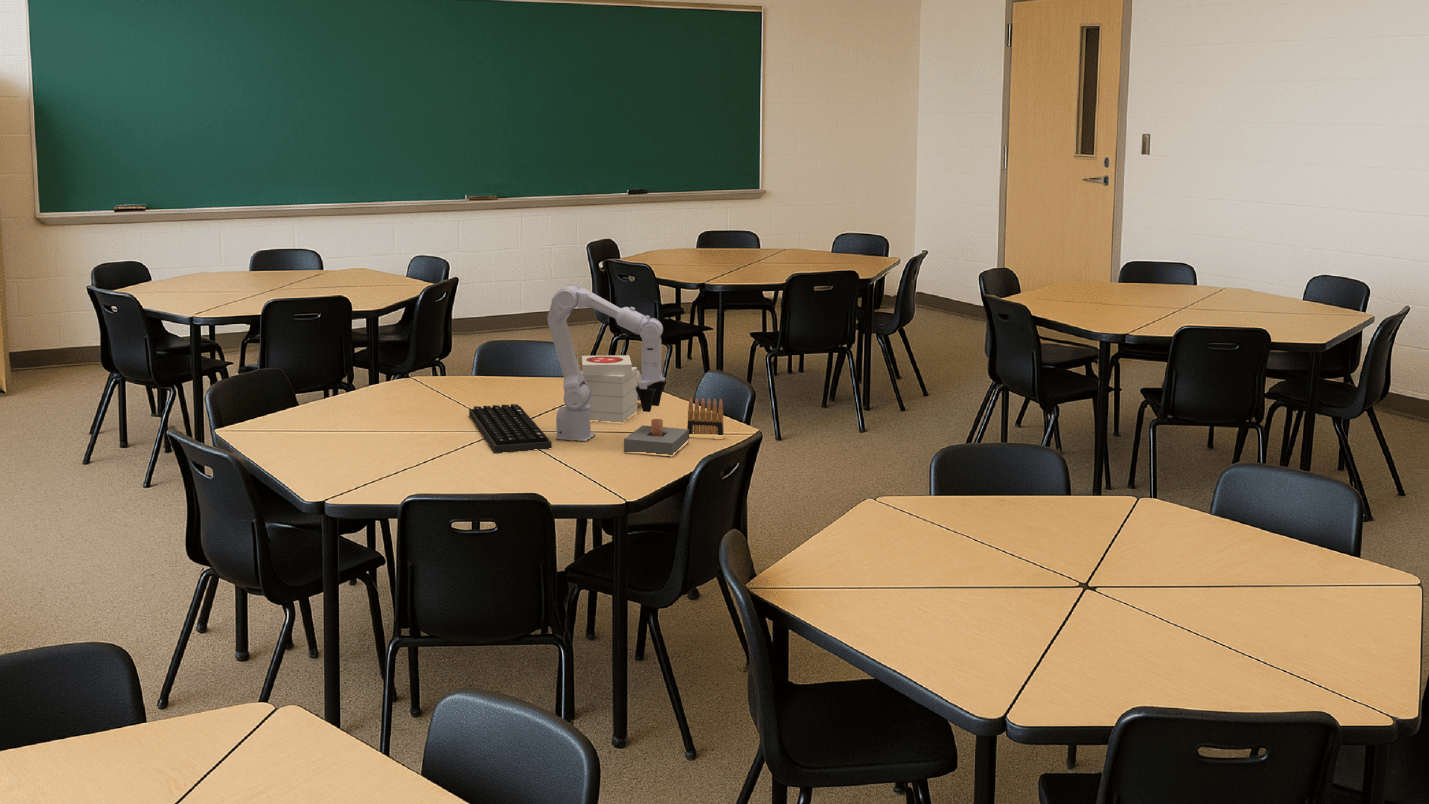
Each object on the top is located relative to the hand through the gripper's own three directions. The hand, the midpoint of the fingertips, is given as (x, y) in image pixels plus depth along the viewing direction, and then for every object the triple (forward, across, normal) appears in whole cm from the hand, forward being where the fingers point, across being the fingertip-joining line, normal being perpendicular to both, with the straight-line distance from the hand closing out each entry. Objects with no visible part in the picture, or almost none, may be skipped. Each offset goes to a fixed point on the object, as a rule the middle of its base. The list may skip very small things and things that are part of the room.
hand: (650, 408), depth 333 cm
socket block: (+10, -6, -4) cm, 12 cm away
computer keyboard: (+11, -4, +43) cm, 44 cm away
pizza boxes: (+10, +28, +23) cm, 38 cm away
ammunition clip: (+10, +9, -14) cm, 19 cm away
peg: (+10, -6, -4) cm, 12 cm away
